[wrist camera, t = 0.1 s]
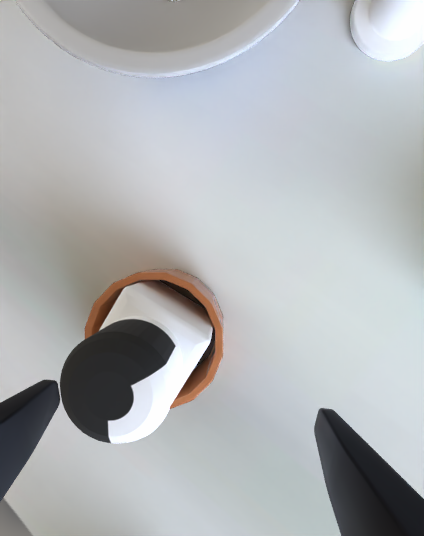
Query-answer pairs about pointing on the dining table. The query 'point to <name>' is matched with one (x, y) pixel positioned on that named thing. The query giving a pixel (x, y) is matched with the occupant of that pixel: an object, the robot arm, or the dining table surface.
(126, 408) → the medicine bottle
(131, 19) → the soup bowl
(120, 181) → the dining table surface
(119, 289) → the terracotta pot
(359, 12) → the candle
